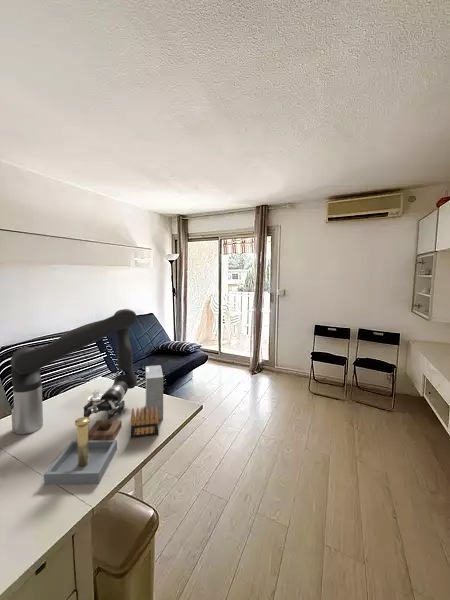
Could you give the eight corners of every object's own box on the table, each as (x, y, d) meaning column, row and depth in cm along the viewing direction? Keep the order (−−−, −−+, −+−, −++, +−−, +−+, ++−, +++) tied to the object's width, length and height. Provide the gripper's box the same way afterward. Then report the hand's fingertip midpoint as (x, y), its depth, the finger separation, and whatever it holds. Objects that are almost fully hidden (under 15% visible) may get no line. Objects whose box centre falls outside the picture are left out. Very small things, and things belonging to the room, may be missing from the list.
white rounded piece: (99, 403, 129) (98, 395, 128) (83, 402, 129) (83, 394, 129) (107, 395, 137) (107, 388, 137) (92, 394, 138) (92, 387, 137)
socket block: (85, 442, 98) (85, 435, 97) (97, 427, 108) (97, 420, 107) (112, 442, 98) (112, 434, 98) (121, 427, 108) (121, 420, 108)
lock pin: (73, 468, 83) (72, 424, 82) (80, 459, 88) (78, 416, 86) (87, 468, 84) (86, 424, 82) (93, 458, 88) (92, 416, 87)
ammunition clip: (158, 432, 105) (158, 404, 104) (158, 435, 104) (158, 406, 102) (130, 435, 103) (130, 407, 102) (130, 438, 101) (130, 409, 100)
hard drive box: (145, 405, 127) (145, 366, 125) (161, 403, 130) (161, 364, 128) (145, 422, 112) (145, 378, 111) (163, 419, 115) (164, 376, 113)
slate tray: (44, 485, 78) (43, 474, 77) (72, 449, 94) (71, 440, 93) (98, 483, 79) (98, 473, 78) (117, 449, 95) (117, 440, 94)
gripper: (96, 388, 111) (77, 407, 95) (129, 388, 112) (116, 407, 96) (96, 405, 112) (77, 426, 95) (130, 405, 112) (116, 426, 96)
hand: (97, 417), depth 96 cm, fingers open, 8 cm apart
